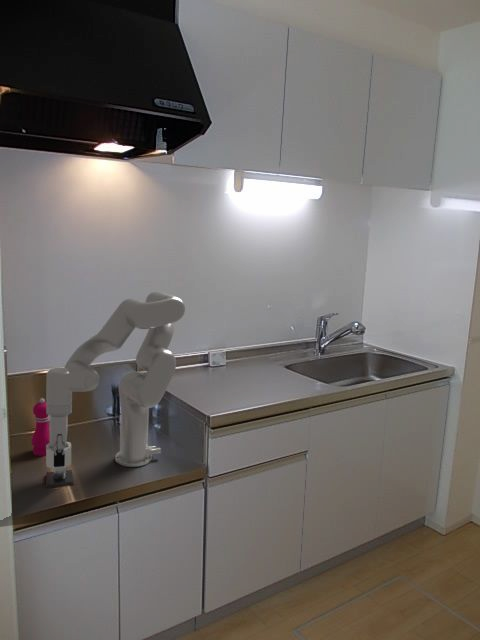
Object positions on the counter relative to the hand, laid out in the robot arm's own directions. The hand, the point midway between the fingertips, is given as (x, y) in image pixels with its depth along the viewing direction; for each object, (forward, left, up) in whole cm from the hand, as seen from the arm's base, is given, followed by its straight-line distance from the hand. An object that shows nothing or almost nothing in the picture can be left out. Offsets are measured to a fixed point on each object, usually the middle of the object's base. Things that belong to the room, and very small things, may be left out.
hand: (58, 460), depth 174 cm
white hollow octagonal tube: (0, 0, -1) cm, 1 cm away
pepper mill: (+5, -22, -7) cm, 23 cm away
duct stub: (0, 0, -7) cm, 7 cm away
